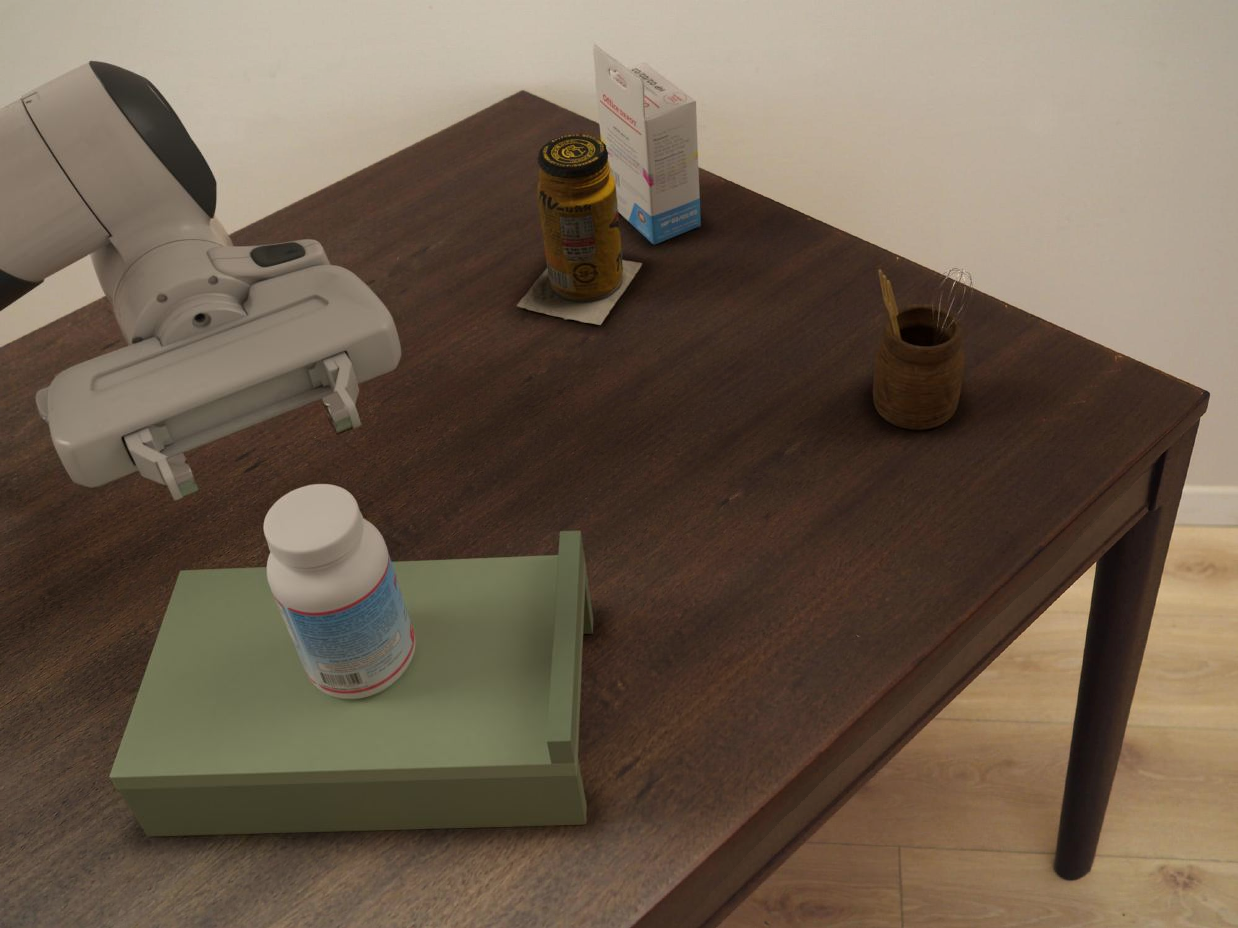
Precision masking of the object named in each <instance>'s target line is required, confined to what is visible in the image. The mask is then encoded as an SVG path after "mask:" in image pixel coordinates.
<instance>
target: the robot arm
mask: <svg viewBox="0 0 1238 928" xmlns="http://www.w3.org/2000/svg"><path fill="white" fill-rule="evenodd" d="M202 153H203V152H201V150H200V149H199V147H198V146H197V143H196V142H195V141H194V140H193V139H192V137H191V135H190V134H189V132H188V129H187V128H186V127H185V125H184V124H183V122H182V120H181V119H180V117H179V116H178V114H177V112H176V111H175V110H174V108H173V107H172V105H171V104H170V103H169V101H168V100H167V99H166V98H165V96H164V95H163V94H162V93H161V91H160V90H159V89H158V88H157V87H156V86H155V85H154V84H153V83H152V81H150V80H149V79H148V78H146V77H145V76H142V75H140V74H138V73H136V72H134V71H131V70H128V69H126V68H124V67H121V66H118V65H115V64H113V63H109V62H105V61H99V60H89V61H88V62H87V63H84V64H82V65H79V66H77V67H76V68H73V69H71V70H69V71H66V72H65V73H63V74H61V75H59V76H57V77H55V78H53V79H51V80H49V81H47V82H45V83H43V84H41V85H40V86H38V87H35V88H34V89H32V90H30V91H28V92H26V93H24V94H23V95H21V97H20V98H18V99H16V100H14V101H12V102H10V103H9V104H7V105H5V106H3V107H1V108H0V312H2V311H4V310H6V308H8V307H9V306H10V305H12V304H13V303H16V302H17V301H18V300H19V299H21V298H22V297H25V296H26V295H27V294H29V293H30V292H31V291H33V290H34V289H36V288H37V287H39V286H40V285H42V284H43V283H44V282H45V279H47V278H49V277H52V276H53V275H55V274H57V273H58V272H60V271H62V270H64V269H66V268H67V267H69V266H71V265H73V264H74V263H77V262H78V261H80V260H82V259H84V258H86V257H87V256H90V259H91V264H92V266H93V269H94V272H95V275H96V278H97V280H98V283H99V285H100V288H101V290H102V292H103V293H104V295H105V297H106V299H107V300H108V302H109V304H110V305H112V307H113V314H114V317H115V321H116V323H117V326H118V328H119V330H120V333H121V335H122V337H123V339H124V342H125V344H126V346H124V347H121V348H119V349H116V350H113V351H110V352H108V353H105V354H102V355H99V356H96V357H93V358H91V359H89V360H86V361H83V362H80V363H77V364H75V365H73V366H70V367H67V368H66V369H63V370H62V371H60V372H58V373H57V374H55V375H54V378H53V380H52V381H51V382H49V383H48V384H46V385H45V386H44V387H43V388H41V389H39V390H37V392H36V393H35V405H36V408H37V412H38V414H39V417H40V418H41V420H42V421H43V422H44V423H45V424H47V425H48V428H49V432H50V437H51V441H52V444H53V447H54V449H55V451H56V453H57V455H58V458H59V459H60V461H61V463H62V466H63V468H64V469H65V471H66V472H67V475H68V476H69V478H70V479H71V481H72V483H74V484H76V485H80V486H83V487H86V488H91V489H92V488H94V489H95V488H97V487H101V486H104V485H106V484H108V483H111V482H114V481H116V480H119V479H121V478H124V477H127V476H129V475H131V474H134V473H136V472H139V474H140V476H141V477H142V478H145V479H148V480H150V481H152V482H155V483H157V484H160V485H163V486H167V489H168V490H169V493H170V494H171V497H172V499H173V501H174V502H176V501H178V500H180V499H181V500H182V499H183V498H185V497H188V496H191V495H193V494H196V493H198V492H200V491H201V489H200V488H199V485H198V483H197V480H196V477H195V476H194V473H193V471H192V469H191V467H190V465H189V462H188V460H187V457H186V455H185V453H187V452H190V451H192V450H195V449H198V448H200V447H203V446H205V445H207V444H210V443H213V442H215V441H218V440H221V439H223V438H225V437H228V436H230V435H233V434H235V433H238V432H240V431H243V430H245V429H248V428H251V427H253V426H256V425H259V424H261V423H264V422H267V421H268V420H272V419H274V418H276V417H279V416H281V415H284V414H287V413H289V412H291V411H294V410H297V409H299V408H302V407H305V406H307V405H309V404H312V403H315V402H317V401H319V400H321V402H322V405H323V408H324V410H325V414H326V418H327V421H328V423H329V425H330V426H331V428H333V431H334V433H335V434H336V435H338V436H339V435H341V434H343V433H346V432H349V431H351V430H353V429H356V428H359V427H362V423H361V419H360V416H359V415H360V414H359V411H358V409H357V407H356V403H357V400H358V397H359V393H360V387H359V385H360V384H363V383H365V382H368V381H370V380H373V379H374V378H378V377H381V376H383V375H387V374H389V373H391V372H393V371H395V370H396V369H397V368H398V365H399V363H400V361H401V358H402V355H403V354H402V346H401V341H400V337H399V333H398V330H397V326H396V323H395V320H394V317H393V316H392V314H391V312H390V311H389V310H388V308H387V306H386V305H385V304H384V302H383V301H382V300H381V299H380V298H379V296H377V294H376V293H375V292H374V291H373V290H372V289H371V288H370V287H369V286H368V285H367V284H366V282H364V281H363V280H362V279H361V278H360V277H358V276H357V275H356V274H355V273H354V272H353V271H351V270H349V269H347V268H345V267H343V266H340V265H334V264H331V262H330V259H329V258H328V256H327V254H326V251H325V249H324V247H323V246H322V244H321V243H320V242H319V241H318V240H315V239H311V238H307V239H298V240H291V241H285V242H279V243H271V244H262V245H261V244H260V245H246V246H245V245H244V246H242V245H241V246H238V245H237V246H235V245H234V244H233V241H232V239H231V237H230V235H229V233H228V232H227V230H226V228H225V227H224V226H223V224H222V222H221V221H220V219H218V217H217V216H216V210H217V202H218V201H217V198H218V197H217V196H218V192H217V189H218V187H217V186H218V185H217V183H218V182H217V180H216V178H215V175H214V173H213V171H212V169H211V167H210V165H209V164H208V161H207V160H206V158H205V157H204V155H203V154H202Z"/></svg>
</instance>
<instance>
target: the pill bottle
mask: <svg viewBox="0 0 1238 928" xmlns="http://www.w3.org/2000/svg"><path fill="white" fill-rule="evenodd" d="M263 533H264V537H265V540H266V542H267V546H268V549H269V552H270V553H269V554H268V557H267V562H266V567H267V579H268V583H269V586H270V588H271V591H272V593H273V596H274V598H275V600H276V603H277V605H278V607H279V610H280V612H281V614H282V617H283V619H284V622H285V624H286V626H287V629H288V631H289V633H290V636H291V638H292V641H293V643H294V645H295V648H296V650H297V652H298V655H299V657H300V659H301V662H302V664H303V667H304V669H305V671H306V673H307V675H308V677H309V679H310V680H311V682H312V683H313V684H314V685H315V686H316V687H317V688H318V689H319V690H321V691H322V692H324V693H325V694H327V695H330V696H333V697H336V698H342V699H359V698H364V697H368V696H372V695H374V694H377V693H379V692H381V691H383V690H385V689H386V688H388V687H389V686H391V685H392V684H393V683H394V682H395V681H397V680H398V678H399V677H400V676H401V675H402V674H403V673H404V671H405V670H406V669H407V667H408V666H409V664H410V662H411V660H412V658H413V655H414V651H415V635H414V631H413V627H412V624H411V621H410V618H409V615H408V612H407V609H406V606H405V602H404V599H403V596H402V593H401V590H400V587H399V584H398V581H397V578H396V574H395V571H394V568H393V565H392V562H393V561H392V559H391V556H390V553H389V550H388V547H387V544H386V541H385V539H384V537H383V535H382V533H381V532H380V531H379V529H378V528H377V527H376V526H375V525H374V524H373V523H371V521H368V520H367V519H365V518H364V517H363V514H362V512H361V510H360V507H359V505H358V502H357V500H356V499H355V496H353V494H352V493H351V492H349V491H348V490H347V489H345V488H343V487H341V486H338V485H334V484H329V483H316V484H315V483H313V484H308V485H304V486H301V487H298V488H296V489H293V490H291V491H289V492H288V493H286V494H284V495H283V496H281V497H280V498H278V499H277V500H276V501H275V503H273V505H271V507H270V508H269V510H268V511H267V513H266V515H265V518H264V522H263Z"/></svg>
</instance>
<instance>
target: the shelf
mask: <svg viewBox="0 0 1238 928" xmlns="http://www.w3.org/2000/svg"><path fill="white" fill-rule="evenodd" d="M558 539H559V540H558V554H553V555H551V554H550V555H528V556H527V555H525V556H502V557H477V558H453V559H430V560H428V559H427V560H406V561H405V560H403V561H391V562H392V565H393V568H394V571H395V574H396V578H397V581H398V584H399V587H400V590H401V593H402V596H403V599H404V602H405V606H406V609H407V612H408V615H409V618H410V621H411V624H412V627H413V631H414V635H415V651H414V655H413V658H412V660H411V662H410V664H409V666H408V667H407V669H406V670H405V671H404V673H403V674H402V675H401V676H400V677H399V678H398V680H397V681H395V682H394V683H393V684H392V685H391V686H389V687H388V688H386V689H385V690H383V691H381V692H379V693H377V694H374V695H372V696H368V697H364V698H359V699H342V698H336V697H333V696H330V695H327V694H325V693H324V692H322V691H321V690H319V689H318V688H317V687H316V686H315V685H314V684H313V683H312V682H311V680H310V679H309V677H308V675H307V673H306V671H305V669H304V667H303V664H302V662H301V659H300V657H299V655H298V652H297V650H296V648H295V645H294V643H293V641H292V638H291V636H290V633H289V631H288V629H287V626H286V624H285V622H284V619H283V617H282V614H281V612H280V610H279V607H278V605H277V603H276V600H275V598H274V596H273V593H272V591H271V588H270V586H269V583H268V579H267V566H256V567H233V568H214V569H213V568H209V569H207V568H206V569H183V570H182V569H181V570H180V571H179V573H178V576H177V579H176V581H175V585H174V587H173V590H172V593H171V596H170V600H169V602H168V605H167V608H166V611H165V614H164V616H163V619H162V623H161V625H160V628H159V631H158V634H157V637H156V640H155V642H154V645H153V649H152V651H151V654H150V657H149V660H148V663H147V666H146V669H145V672H144V675H143V678H142V681H141V684H140V686H139V689H138V692H137V695H136V698H135V701H134V703H133V707H132V710H131V713H130V716H129V718H128V721H127V724H126V726H125V729H124V733H123V736H122V739H121V741H120V744H119V748H118V750H117V753H116V756H115V759H114V762H113V765H112V768H111V771H110V774H109V779H110V781H111V783H112V784H113V785H114V787H115V788H116V790H117V792H118V793H119V795H120V796H121V798H122V799H123V801H124V802H125V804H126V806H127V807H128V808H129V810H130V812H131V813H132V815H133V816H134V817H135V819H136V820H137V823H138V824H139V825H140V827H141V828H142V830H143V831H144V833H145V834H146V836H147V837H183V836H186V837H187V836H216V835H217V836H219V835H221V836H223V835H255V834H257V835H258V834H293V833H295V834H296V833H329V832H331V833H332V832H364V831H365V832H366V831H367V832H368V831H399V830H406V831H407V830H436V829H438V830H439V829H474V828H475V829H476V828H478V829H479V828H510V827H511V828H512V827H514V828H516V827H548V826H549V827H550V826H551V827H552V826H583V825H584V826H585V825H586V824H587V810H588V809H587V808H588V807H587V799H586V795H585V794H586V793H585V789H584V783H583V778H582V777H583V776H582V772H581V765H580V761H579V756H578V755H579V740H580V739H579V738H580V737H579V736H580V716H581V714H580V713H581V691H582V689H581V688H582V668H583V664H582V663H583V647H584V646H583V645H584V635H593V633H594V613H593V607H592V599H591V592H590V586H589V579H588V572H587V565H586V558H585V550H584V543H583V537H582V531H581V530H561V531H559V538H558Z"/></svg>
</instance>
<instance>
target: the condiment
mask: <svg viewBox="0 0 1238 928" xmlns="http://www.w3.org/2000/svg"><path fill="white" fill-rule="evenodd" d="M537 164H538V166H539V172H538V179H539V181H538V183H537V187H536V195H537V202H538V210H539V217H540V225H541V233H542V241H543V247H544V254H545V262H546V269H545V270H544V271H543V272H542V274H540V275H539V276H538V278H537V279H536V280H535V281H534V283H533V285H532V286H531V287H529V289H528V291H527V292H526V294H525V295H524V296H523V297H522V298H521V299H520V300H519V302H518V303H517V304H516V307H519V308H521V309H526V310H528V311H532V312H535V313H539V314H545V315H548V316H551V317H558V318H562V319H563V320H565V321H566V320H574V321H577V322H580V323H586V324H587V323H588V324H593V325H597V326H602V324H603V322H604V321H605V319H606V318H607V316H608V315H609V314H610V311H612V309H613V307H614V306H615V305H616V303H617V302H618V300H619V299H620V297H621V296H622V295H623V294H624V292H625V291H626V290H627V288H628V287H629V285H630V283H631V282H632V280H633V279H635V276H636V274H637V273H638V272H639V270H640V269H641V267H642V266H643V262H637V261H631V260H625V259H623V252H622V251H623V250H622V241H621V232H620V219H619V212H618V204H617V196H616V193H617V191H616V185H615V179H614V177H613V175H612V174H611V172H610V165H609V161H608V151H607V149H606V145H605V144H604V143H603V142H602V141H601V139H599V138H598V137H595V136H592V135H589V134H582V133H576V134H574V133H573V134H572V133H571V134H565V135H561V136H559V137H555V138H553V139H550V140H549V141H548V142H547V143H545V144H544V145H542V147H541V148H540V150H539V152H538V156H537Z"/></svg>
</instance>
